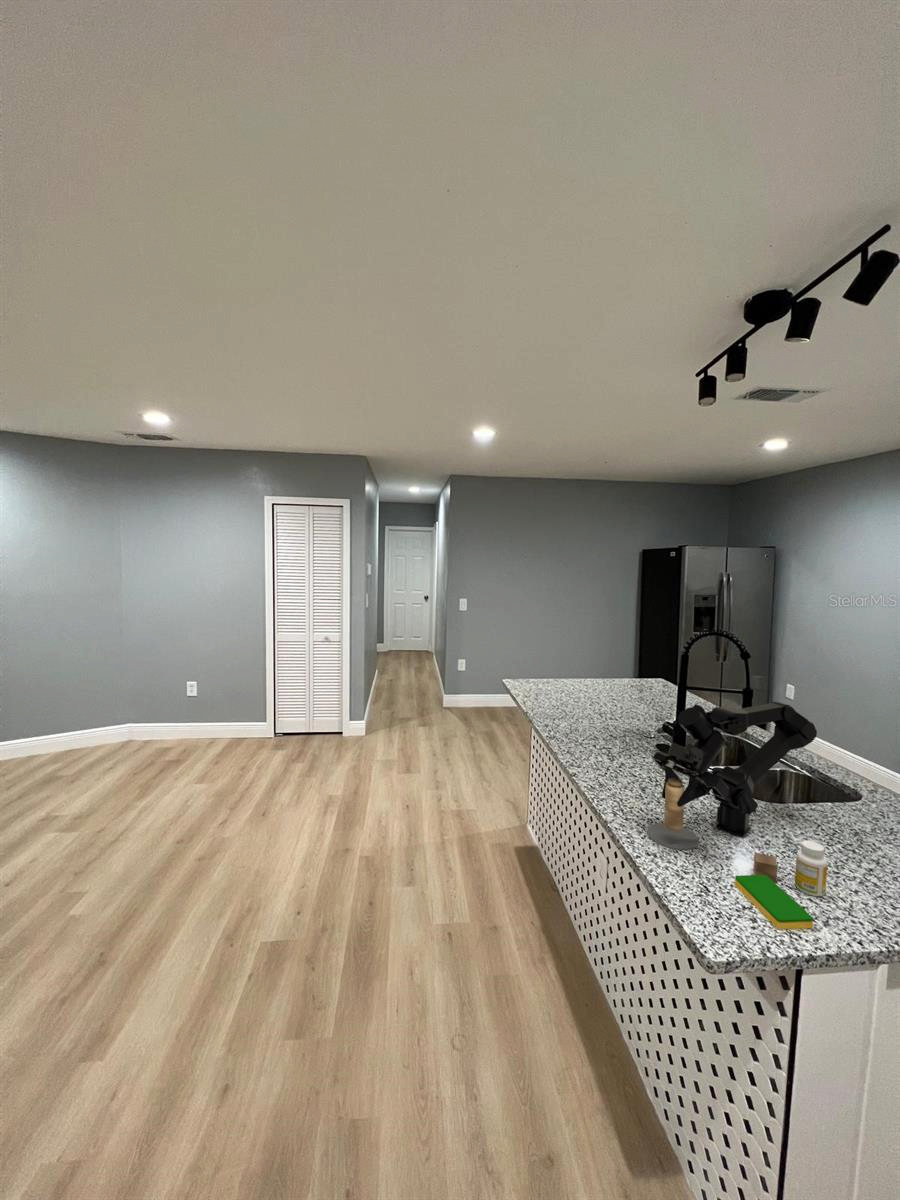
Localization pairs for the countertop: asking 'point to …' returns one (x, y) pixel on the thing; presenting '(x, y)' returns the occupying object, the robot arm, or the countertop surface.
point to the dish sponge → (774, 902)
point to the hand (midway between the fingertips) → (670, 801)
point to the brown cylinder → (673, 805)
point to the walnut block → (765, 866)
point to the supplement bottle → (811, 869)
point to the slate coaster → (672, 837)
